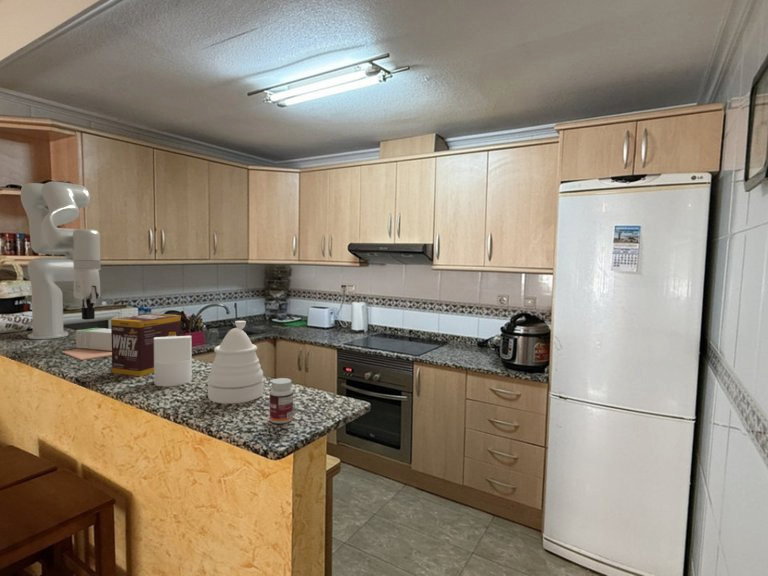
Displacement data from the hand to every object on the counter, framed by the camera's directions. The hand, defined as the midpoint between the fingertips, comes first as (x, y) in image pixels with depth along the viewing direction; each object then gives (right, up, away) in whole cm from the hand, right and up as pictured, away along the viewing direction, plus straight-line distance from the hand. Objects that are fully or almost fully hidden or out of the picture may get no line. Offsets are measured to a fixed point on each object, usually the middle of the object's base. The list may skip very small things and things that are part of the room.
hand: (88, 318), depth 142 cm
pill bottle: (+80, -17, -55) cm, 99 cm away
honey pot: (+65, -16, -40) cm, 78 cm away
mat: (+3, -11, -1) cm, 12 cm away
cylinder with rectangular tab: (+45, -15, -30) cm, 56 cm away
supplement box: (+31, -14, -19) cm, 39 cm away
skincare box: (-5, -7, +6) cm, 11 cm away
